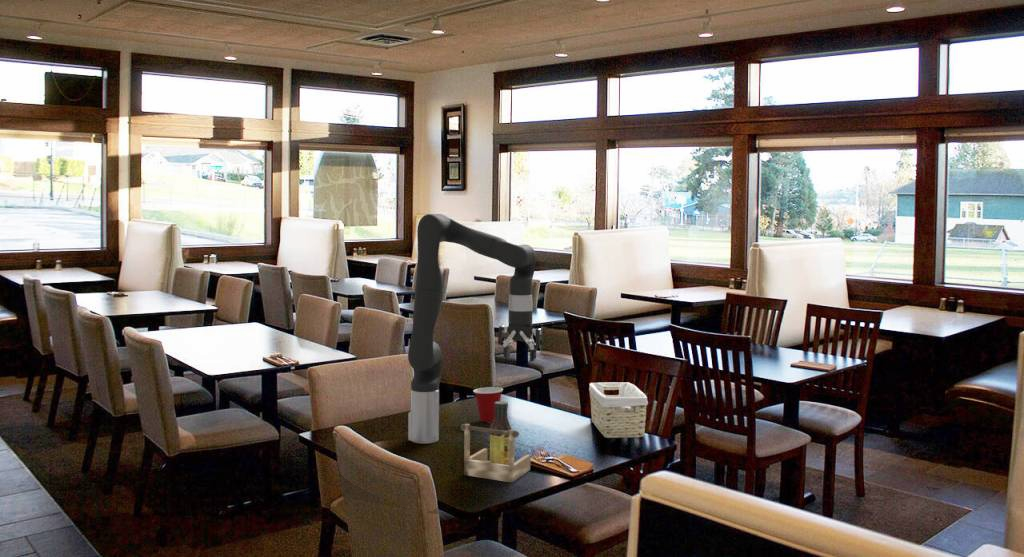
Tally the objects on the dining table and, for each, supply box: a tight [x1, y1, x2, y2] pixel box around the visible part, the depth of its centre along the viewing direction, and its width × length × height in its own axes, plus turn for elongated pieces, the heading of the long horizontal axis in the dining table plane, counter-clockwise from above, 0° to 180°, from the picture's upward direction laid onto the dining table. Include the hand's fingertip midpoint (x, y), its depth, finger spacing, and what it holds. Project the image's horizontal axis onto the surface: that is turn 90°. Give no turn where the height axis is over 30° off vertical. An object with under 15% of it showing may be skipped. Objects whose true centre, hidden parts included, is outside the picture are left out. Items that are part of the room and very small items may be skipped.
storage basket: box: [588, 381, 649, 439], centre depth 306 cm, size 24×16×15 cm
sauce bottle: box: [489, 400, 512, 465], centre depth 257 cm, size 7×6×20 cm
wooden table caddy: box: [460, 423, 531, 483], centre depth 256 cm, size 18×14×15 cm
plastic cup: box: [472, 386, 504, 423], centre depth 315 cm, size 11×11×12 cm
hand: (519, 360), depth 273 cm, fingers open, 8 cm apart
